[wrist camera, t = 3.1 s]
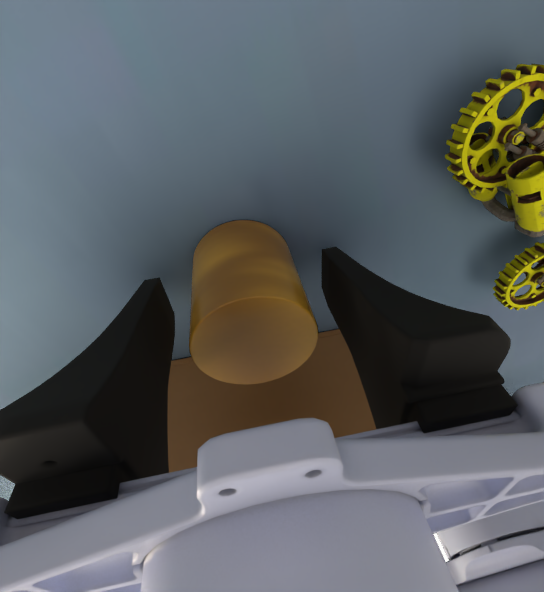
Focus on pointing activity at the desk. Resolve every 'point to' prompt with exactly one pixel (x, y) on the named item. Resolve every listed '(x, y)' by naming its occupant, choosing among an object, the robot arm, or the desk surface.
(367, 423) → the toy box
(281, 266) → the cylinder
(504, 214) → the toy motorcycle
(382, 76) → the desk surface
